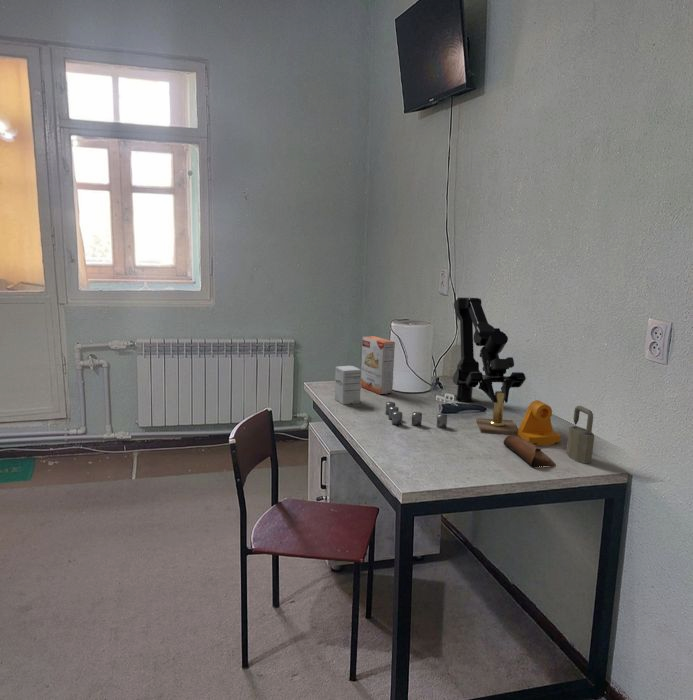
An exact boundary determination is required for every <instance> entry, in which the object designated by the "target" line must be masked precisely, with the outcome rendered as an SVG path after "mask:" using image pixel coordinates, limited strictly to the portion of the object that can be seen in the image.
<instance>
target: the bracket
mask: <svg viewBox="0 0 693 700" xmlns="http://www.w3.org/2000/svg"><path fill="white" fill-rule="evenodd" d="M552 413H553V410H552V407H551V406H550V405H548V404H547V403H545V402H543V401H540V400H534V401H532V402H530V403H529V406H528V407H527V410H526V411H525V414H524V417H523V418H522V420H521V423H520V425H519V427H518V428H517V429H518V435H517V437H519V438H522V439H524V440H526V441H528V442H530V443H532V444H534V445H536V446H537V447H539V446H553V445H555V443H560V442H561V438H562V435H561V434H559V433H558V432H556V431H555V430H554V429H553V425H552V421H551V417H552Z"/></svg>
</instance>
